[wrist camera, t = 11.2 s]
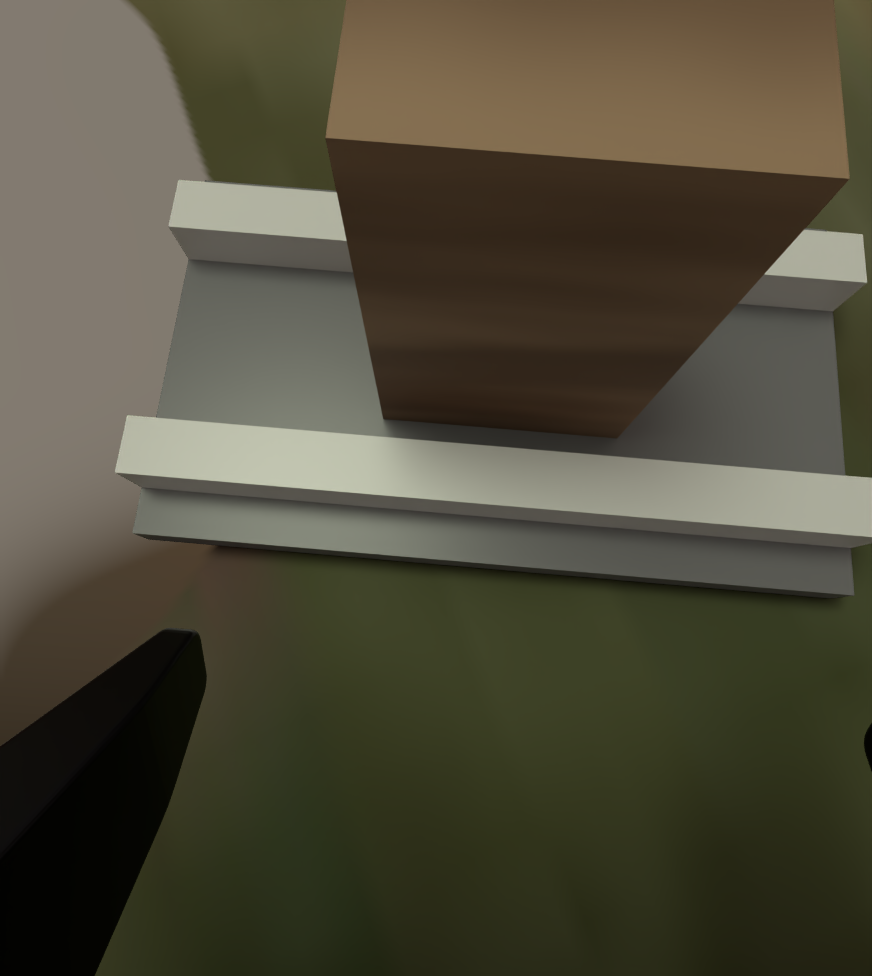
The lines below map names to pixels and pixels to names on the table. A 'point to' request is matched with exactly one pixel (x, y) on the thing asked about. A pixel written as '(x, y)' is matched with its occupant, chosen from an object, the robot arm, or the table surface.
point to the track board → (489, 451)
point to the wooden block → (571, 191)
